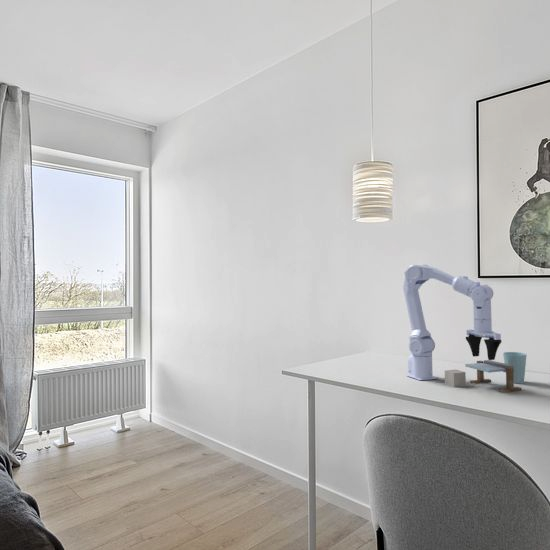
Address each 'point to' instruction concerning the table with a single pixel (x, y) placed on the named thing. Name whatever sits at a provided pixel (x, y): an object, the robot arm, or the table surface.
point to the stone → (455, 378)
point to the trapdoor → (490, 366)
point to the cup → (516, 364)
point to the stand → (509, 380)
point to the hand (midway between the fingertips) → (483, 357)
